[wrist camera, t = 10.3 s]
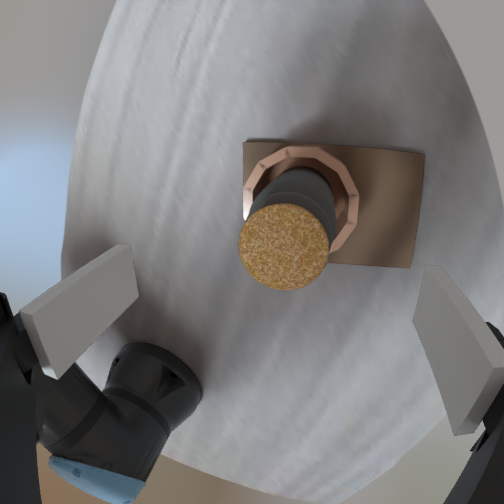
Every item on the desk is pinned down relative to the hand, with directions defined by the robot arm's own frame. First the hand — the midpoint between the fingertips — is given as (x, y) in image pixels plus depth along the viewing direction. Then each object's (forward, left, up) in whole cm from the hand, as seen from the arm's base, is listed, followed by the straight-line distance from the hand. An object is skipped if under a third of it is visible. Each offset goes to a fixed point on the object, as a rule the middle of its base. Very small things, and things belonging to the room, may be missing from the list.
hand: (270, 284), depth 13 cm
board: (+3, -1, -20) cm, 20 cm away
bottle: (0, 0, -19) cm, 19 cm away
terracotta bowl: (0, 0, -19) cm, 19 cm away
